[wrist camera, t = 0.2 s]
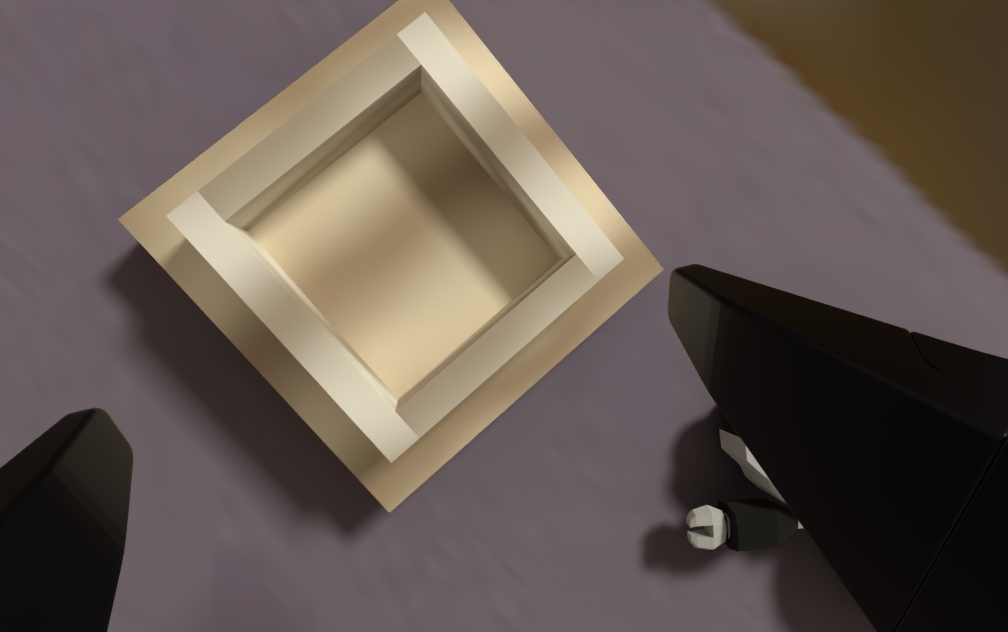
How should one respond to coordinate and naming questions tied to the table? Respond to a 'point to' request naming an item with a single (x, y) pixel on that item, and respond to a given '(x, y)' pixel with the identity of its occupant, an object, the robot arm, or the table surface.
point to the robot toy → (742, 509)
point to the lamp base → (397, 244)
